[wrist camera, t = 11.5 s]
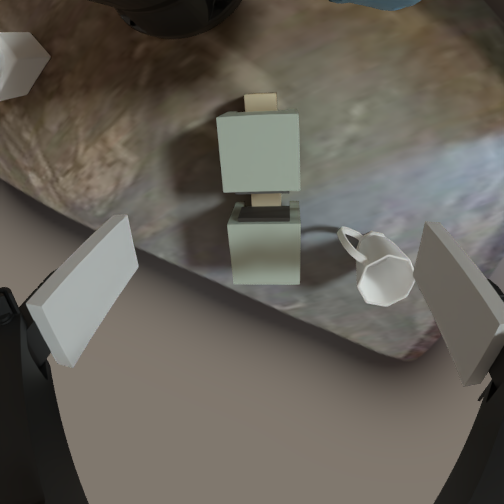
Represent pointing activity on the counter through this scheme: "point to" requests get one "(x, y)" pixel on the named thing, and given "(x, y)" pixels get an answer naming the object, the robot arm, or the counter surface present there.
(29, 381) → the robot arm
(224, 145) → the block
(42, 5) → the counter surface
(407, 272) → the cup
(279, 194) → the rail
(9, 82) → the medicine bottle
